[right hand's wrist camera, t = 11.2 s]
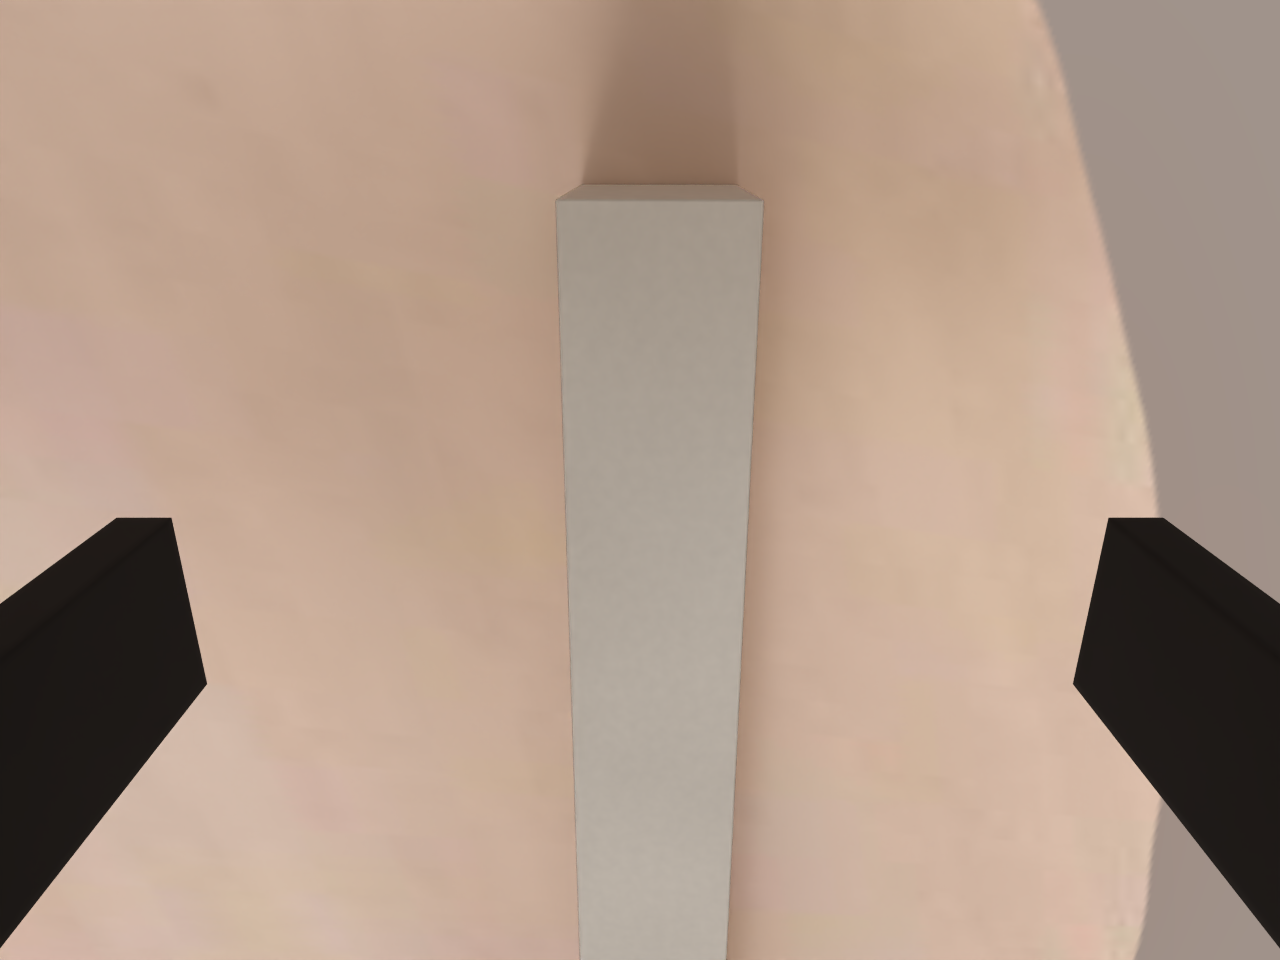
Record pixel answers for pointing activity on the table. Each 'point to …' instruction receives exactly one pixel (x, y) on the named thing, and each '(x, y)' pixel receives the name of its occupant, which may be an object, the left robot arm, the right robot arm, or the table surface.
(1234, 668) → the right robot arm
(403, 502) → the table surface
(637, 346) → the beam
